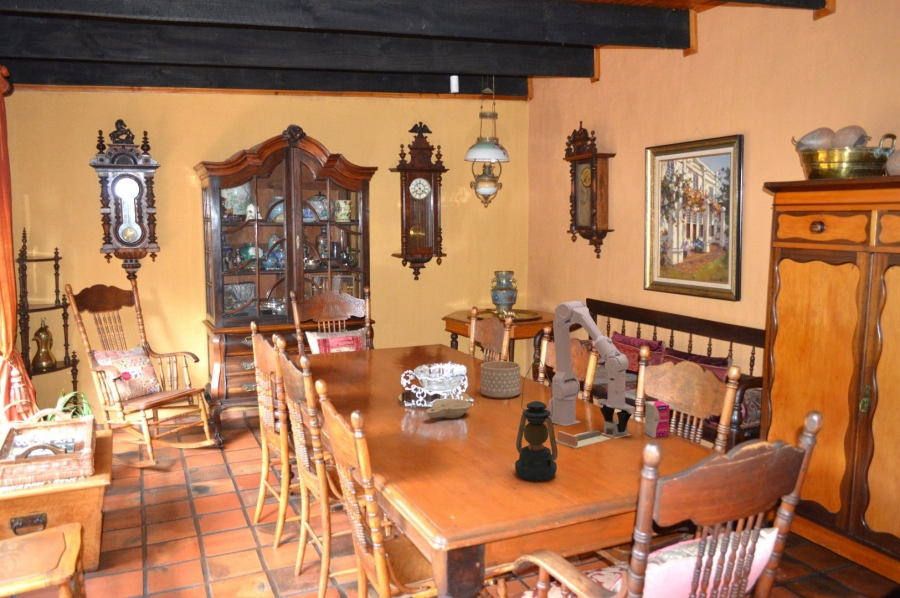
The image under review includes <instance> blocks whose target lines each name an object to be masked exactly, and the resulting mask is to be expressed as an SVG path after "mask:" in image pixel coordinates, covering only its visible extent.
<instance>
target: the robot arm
mask: <svg viewBox="0 0 900 598" xmlns="http://www.w3.org/2000/svg"><path fill="white" fill-rule="evenodd" d="M589 310H590V309H589V308H588V306H586V303H584V301H583V300H578V299H577V300H572V301H562V302H560V303H559V304H558V305H557V306H556V307H555V308H554V314H555V315H554V318H553V322H552V328H553V341H554V351H555V352H554V353H555V361H556V362H555V364H556V372H555V374H554V375H553V377H552V378H551V379H552V381H551V382H552V383H551V385H552V398H550V399H549V401H548V410H549V411H550V412H551V414H550V415H552V416H549V417H550V418H551V420H552V422H553V424H555V425H560V426H563V427H568V426H571V425H576V424H580V423H581V421H580V420H576V404H577V403H576V401H577V400H576V398H577V395H578V394H579V393H580V390H581V387H580V386H581V385H580V383H579V380H578V375H577V373H575V372H574V371H573V363H572V362H573V360H572V350H571V349H572V348H571V336H570V327H571V326H572V324H574V323H575V324H579V325H581V327H582V328H583V330H584V331H585V332H586V333H587V334H588V335H589V336H590V338H591V339H592V340H593V341H594V344H593V347H594V348H595V350H596V351H597V353H598V354H599V355H600V356H601V358H602V359H603V361H604V362H605V363H604V368H605V370H606V372H607V399H605V398H600V399H598V401H597V402H598V403H597V405H598V406H602V407H600V408H599V411H600V412H601V415H602V416H603V419H604V421H607V420H611V419H614V415H615V414H614V413H615V410H618V411H616V416H617V419H618V421H619V432H625V429H626V426H627V423H628V422H629V421H630V418H631V416H632V415H633V414H635V413H636V407H635V406H632V405H630V404H628V403H626V374H627V373H626V372H627V370H628V369H629V367H630V360H629V358H628V356H627V355H626V354H625V353H621V352H620V350H619V349H618V348H617V347H616V345H615V344H614V343H613V339H612V338H609V336H605V335H603V333H602V332H601V330H600V328H599V327H598V326H597V323H596V322H595V321H594V319H593V317H592V315H591V314H590V311H589ZM552 408H553V410H552ZM628 424H629V423H628Z"/></svg>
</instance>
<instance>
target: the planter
mask: <svg viewBox="0 0 900 598" xmlns="http://www.w3.org/2000/svg"><path fill="white" fill-rule="evenodd" d="M480 393H481V395H484V396H485V397H486V398H490V399H497V400H498V399H499V400H500V399H501V400H506V399H507V400H508V399H511V398H512V397H513V398H515V397H516V396H517V395H519V394H521V364H519V363H517V362H513V361H505V360H504V361H503V360H496V361H494V360H493V361H486V362H483V363H481V364H480Z"/></svg>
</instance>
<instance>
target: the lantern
mask: <svg viewBox="0 0 900 598" xmlns="http://www.w3.org/2000/svg"><path fill="white" fill-rule="evenodd" d="M537 357H538V359H539V362H540V364H541V366H542V369H543V371H544V372H545V373H544V374H546V377H547V379H548V382H549V384H550V393H551V395H550V396H551V398H552V397H553V395H552V383H551V382H552V381H550V378H549V375H548V373H547V371H546V369H545V367H544V365H543V363H542V361H541V357H540V356H539V354H536V356H535V358H534V360H533V361H532V364H531V366H530V367H529V369H528V371H527V373H526V375H525V376H524V379H523V380H522V381H523V383H522V393H521V395H522V396H521V403H523V400H524V396H523V395H524V389H525V388H524V385H525V380H526V378H527V376H528V375H529V373H530V371H531V369H532V366H533V365H534V362H535V361H536V359H537ZM551 398H550V399H551ZM520 407H521V410H523V411H522V414H521V417H520V421H519V426H518V432H517V435H516V441H515V445H516V450H517V452H518V454H519V457H518V459H517V460H516V461H515V463H514V469H515V473H516V475H517V477H518V478H520V479H522V480H524V481H529V482H541V483H542V482H547V481H549V480H552V479H554V477H555V476H556V473H557V470H558V469H557V468H558V467H557V466H558V464H557V462H556V460H557V459H558V456H559V455H558V446H557V442H556V439H557V438H556V435H555V430H554V428H555V427H554V423H553V422H552V420H551V418H550V417H549V416H552V415H550V414H551V412H550V411H549V409H547V403H545V402H543V401H539V400H534V401H531V402H527V403H526V409H525V408H523V404H521V406H520ZM552 410H553V408H552ZM527 422H528V423H527ZM545 422H546V423H545ZM523 438H524V440H525V441H526V442H527V443H528V444H527V445H526V446H524V447H522V445H523ZM548 438H549V443H550V447H548V446H544V443H546V442H547V440H548Z"/></svg>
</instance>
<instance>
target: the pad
mask: <svg viewBox="0 0 900 598" xmlns="http://www.w3.org/2000/svg"><path fill="white" fill-rule="evenodd" d="M600 435H603V436H604V435H605V436H606V437H609V438H613V439H619V438H624V437H628V436H630V435H631V434H630V433H627V434H626V435H622V436H618V437H613V433H611V434H607V435H606V434H604V432H600Z"/></svg>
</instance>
